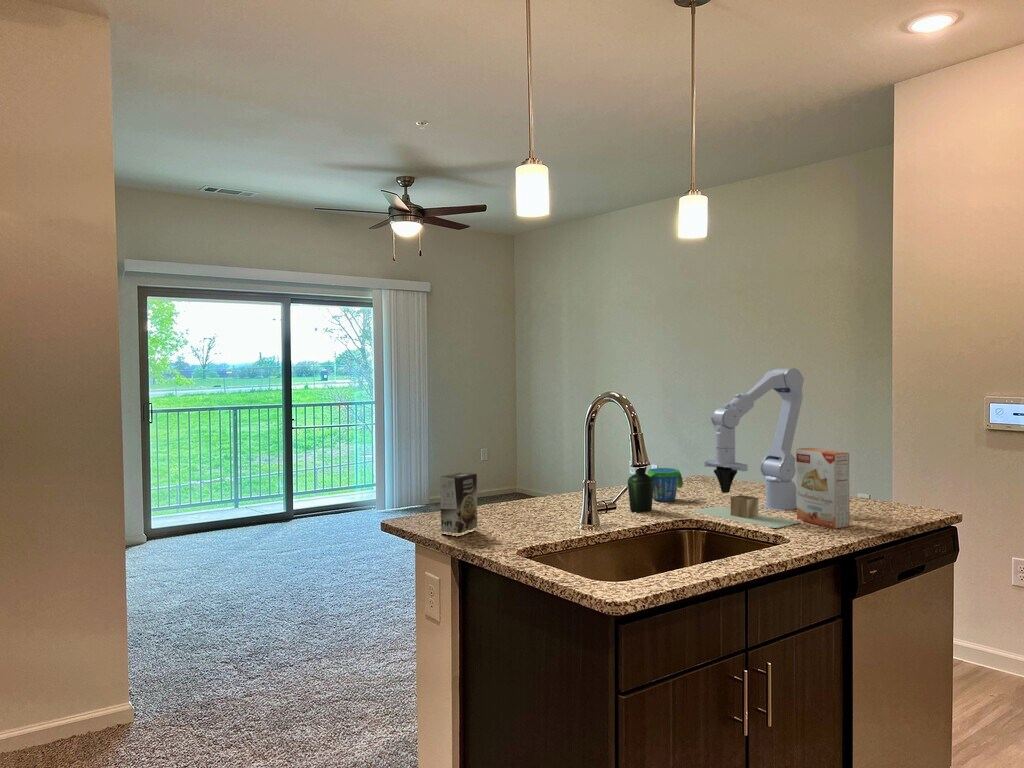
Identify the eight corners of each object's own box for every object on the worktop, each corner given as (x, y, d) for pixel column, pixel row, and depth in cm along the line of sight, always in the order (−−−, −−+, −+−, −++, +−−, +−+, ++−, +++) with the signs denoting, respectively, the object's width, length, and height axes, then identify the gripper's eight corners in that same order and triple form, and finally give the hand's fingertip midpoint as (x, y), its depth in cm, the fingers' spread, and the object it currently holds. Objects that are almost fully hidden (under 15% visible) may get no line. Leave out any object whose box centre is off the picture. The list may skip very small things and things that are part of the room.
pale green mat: (715, 507, 230) (715, 506, 230) (800, 523, 206) (800, 522, 206) (690, 512, 223) (689, 511, 223) (775, 529, 199) (775, 527, 199)
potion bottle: (647, 508, 232) (646, 451, 231) (658, 512, 224) (658, 454, 223) (623, 509, 230) (623, 452, 229) (634, 514, 222) (633, 455, 221)
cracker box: (795, 520, 210) (795, 448, 210) (811, 518, 213) (810, 447, 212) (834, 529, 198) (833, 453, 197) (850, 527, 200) (850, 451, 200)
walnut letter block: (741, 495, 219) (758, 497, 214) (741, 513, 219) (758, 516, 214) (730, 497, 216) (747, 499, 211) (730, 515, 216) (747, 518, 212)
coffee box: (459, 537, 194) (458, 477, 194) (440, 535, 198) (439, 476, 198) (478, 531, 202) (477, 473, 202) (459, 528, 206) (459, 471, 205)
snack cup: (654, 504, 237) (654, 473, 237) (635, 499, 247) (635, 469, 247) (692, 500, 244) (692, 470, 244) (672, 495, 254) (672, 466, 253)
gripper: (697, 446, 224) (698, 490, 224) (736, 450, 212) (737, 497, 213) (712, 445, 228) (712, 488, 228) (751, 449, 216) (752, 494, 217)
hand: (725, 492), depth 221 cm, fingers closed
